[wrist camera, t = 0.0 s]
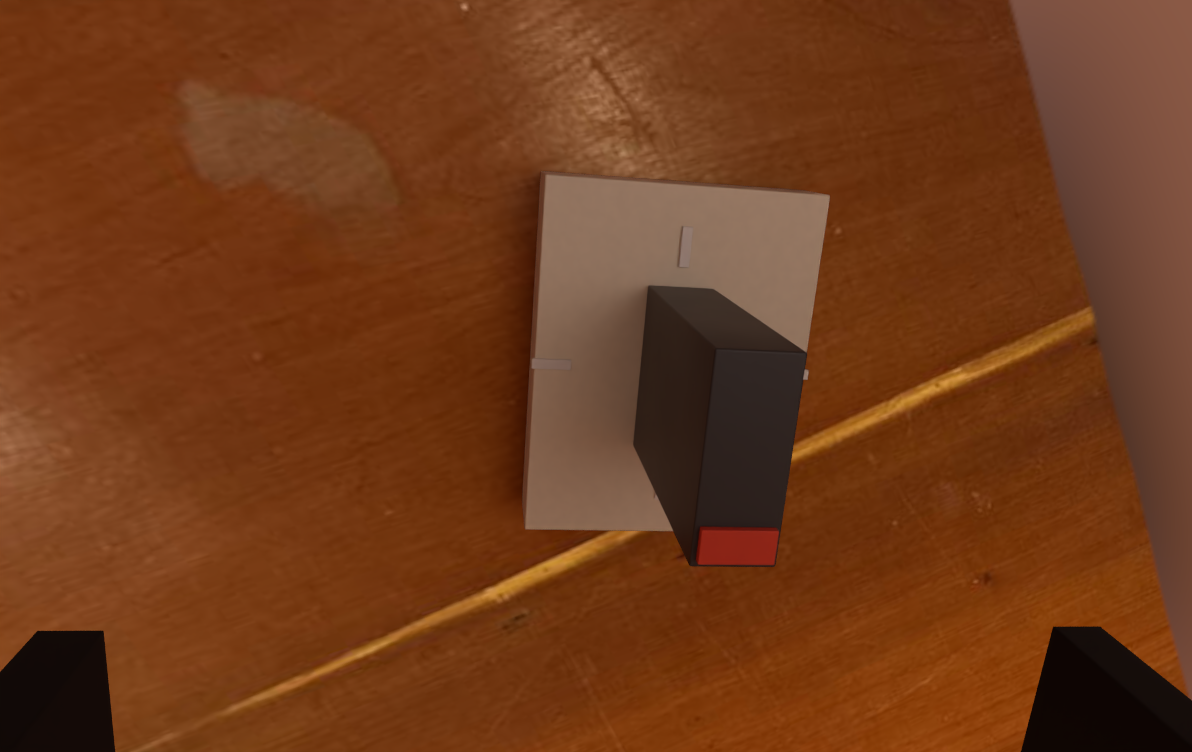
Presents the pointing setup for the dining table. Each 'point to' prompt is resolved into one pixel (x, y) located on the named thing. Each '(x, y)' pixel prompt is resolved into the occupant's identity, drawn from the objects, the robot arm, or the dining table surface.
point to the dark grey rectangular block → (717, 424)
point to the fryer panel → (640, 320)
